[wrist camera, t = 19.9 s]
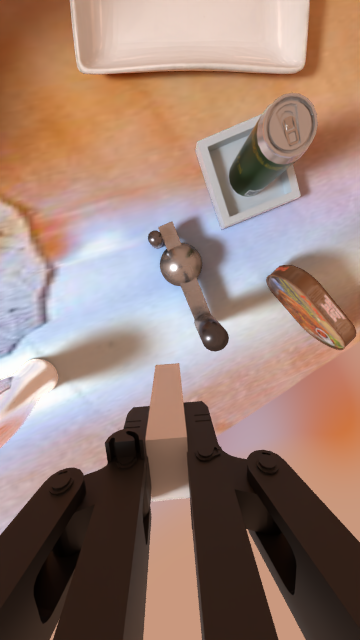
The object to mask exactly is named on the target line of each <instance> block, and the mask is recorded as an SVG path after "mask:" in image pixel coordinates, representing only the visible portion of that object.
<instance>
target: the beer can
mask: <svg viewBox="0 0 360 640" xmlns="http://www.w3.org/2000/svg"><path fill="white" fill-rule="evenodd" d="M317 125H318V122H317V113H316V111H315V108H314V105H313V104H312V103H311V102H310V100H309V99H308V98H306V97H305V96H303V95H301V94H297V93H288V94H284V95H282V96H280V97H279V98H277V99H276V100H275V101H274V102H273V103H272V104H270V105H269V106H268V107H267V108H266V110H265V111H264V112H263V113H262V115H261V116H260V118H259V120H258V121H257V123H256V125H255V126H254V128H253V130H252V131H251V133H250V135H249V136H248V138H247V140H246V141H245V143H244V145H243V146H242V148H241V150H240V151H239V153H238V155H237V156H236V158H235V160H234V161H233V163H232V165H231V167H230V171H229V180H230V184H231V186H232V188H233V190H234V191H235V192H236V193H237V194H239V195H241V196H247V197H249V196H253V195H256V194H257V193H259V192H260V191H261V190H263V189H264V188H265V187H266V186H267V185H269V184H270V183H271V182H272V181H273V180H274V179H276V178H277V177H278V176H279V175H280V174H282V173H283V172H284V171H285V170H286V169H288V168H289V167H290V166H291V165H292V164H294V163H295V162H296V161H297V160H298V159H299V158H301V157H302V155H303V154H304V153H305V152H306V151H307V149H308V147H309V145H310V144H311V143H312V141H313V139H314V137H315V135H316V131H317Z"/></svg>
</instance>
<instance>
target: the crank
mask: <svg viewBox="0 0 360 640" xmlns="http://www.w3.org/2000/svg"><path fill="white" fill-rule="evenodd" d="M158 228H159V231H160V233H161V235H162V238H163V241H164V243H165V245H166V248H167V250H168V252H167V254H166V255H165V257H164V261H163V268H164V271H165V274H166V275H167V277H168V278H169V279H170V280H172V281H174V282H176V283H180V285H181V288H182V290H183V292H184V295H185V297H186V300H187V302H188V305H189V307H190V309H191V312H192V314H193V317H194V319H195V320H194V323H195V326H196V329H197V331H198V333H199V335H200V337H201V340H202V342H203V344H204V346H205V347H206V348H207V349H208V350H211V351H219V350H222V349H223V348H224V347H225V346H226V345H227V343H228V339H229V337H228V333H227V331H226V330H225V329H224V328H223V327H222V326H221V325H220V323H219V322H218V321H217V320H216V319H215V318H214V317H213V316H212V315H211V314H210V311H209V309H208V306H207V303H206V301H205V298H204V296H203V293H202V291H201V288H200V286H199V283H198V281H197V278H196V276H197V275H198V273H199V270H200V258H199V256H198V254H197V253H196V251H195V250H194V249H192V248H191V247H189V246H185V245H181V242H180V239H179V237H178V234H177V232H176V229H175V227H174V224H173V222H169V223H167V224H165V225H163V226H160V227H158Z"/></svg>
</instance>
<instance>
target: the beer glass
mask: <svg viewBox="0 0 360 640" xmlns="http://www.w3.org/2000/svg"><path fill="white" fill-rule="evenodd" d="M57 382H58V373H57V370H56V369H55V367H54V366H53V365H52V364H51V363H49V362H48V361H46V360H43V359H32V360H29V361H27V362H25V363H24V364H23V365H22V366H21V367H20V368H19V370H18V371H17V372H15V373H14V374H12V375H10V376H8V377H5V378H3V379H0V448H1V447H2V446H3V445H4V444H6V443H7V442H8V441H9V440H10V439H11V438H12V437H13V436H14V434H15V433H16V432H17V431H18V430H19V429H20V428H21V426H22V425H23V424H24V422H25V421H26V420H27V418H28V417H29V415H30V413H31V412H32V410H33V409H34V407H35V405H36V404H37V402H38V401H39V399H40V398H41V397H42V396H43V395H45V394H46V393H48V392H50V391H51V390H52V389H53V388H54V387H55V386H56V384H57Z"/></svg>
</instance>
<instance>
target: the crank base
mask: <svg viewBox="0 0 360 640" xmlns="http://www.w3.org/2000/svg"><path fill="white" fill-rule="evenodd" d="M148 240H149V242H150V244H151V245H152V246H153V247H154V248H156V249H159V248H161V247H162V246H163V238H162V235H161V233H160V232H158V231H152V232H150V233H149V236H148ZM181 245H185V246H189V247H191V248H192V249H194V250H195V251H196V253H197V254H198V256H199V258H200V270H199V273H198V275H197V276H196V278H198V276H199V274H200V272H201V268H202V261H201V257H200V255H199V253H198V251H197V250H196V249H195V248H194V247H192V246H191V245H189V244H185V243H181ZM167 252H168V250H167V249H166V250H165V251H164V253H163V255H162V257H161V260H160V269H161V272H162V274H163V276H164V278H165V279H166V280H167V281H168V282H170V283H171V284H173V285H177V286H181V285H180V283H176V282H174V281H172V280H170V279H169V278H168V277H167V275H166V274H165V271H164V268H163V261H164V257H165V255H166V254H167Z"/></svg>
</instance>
